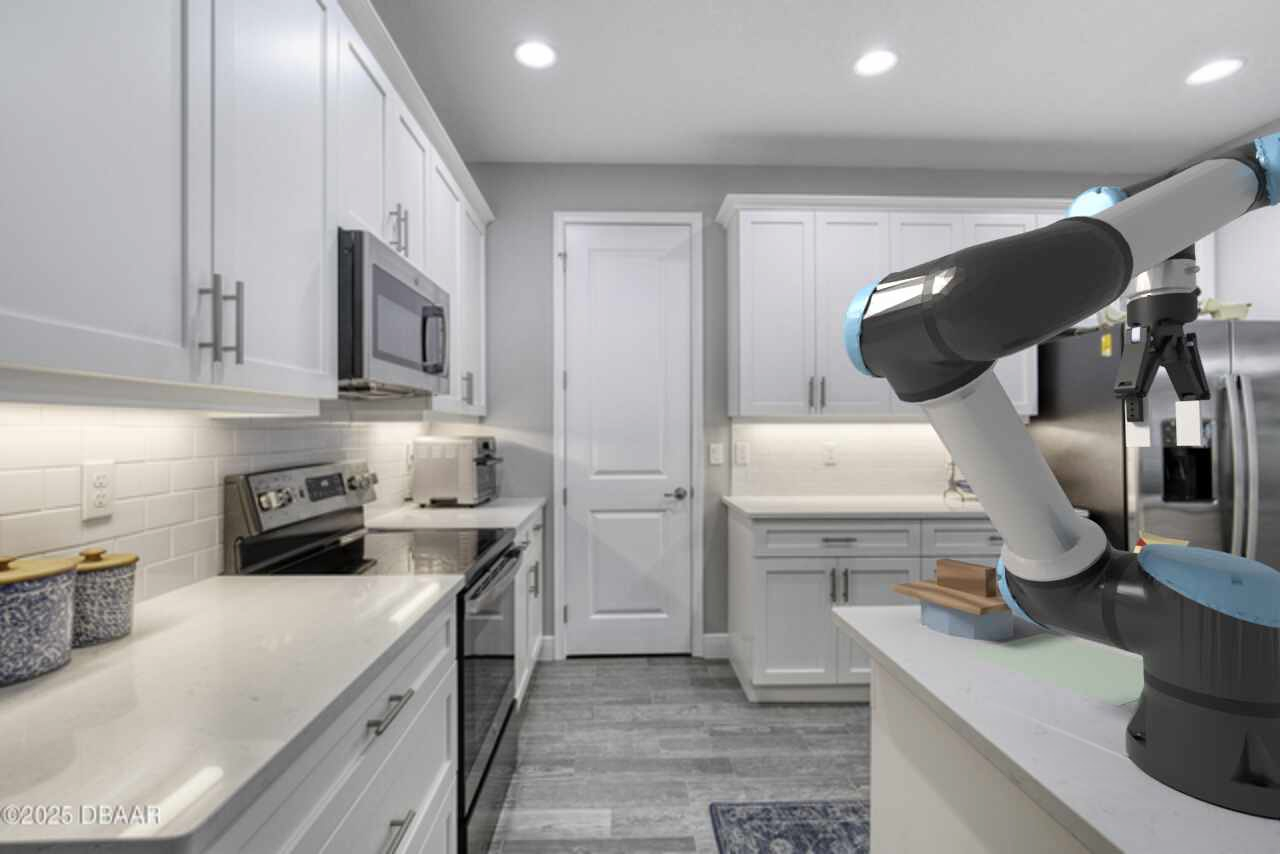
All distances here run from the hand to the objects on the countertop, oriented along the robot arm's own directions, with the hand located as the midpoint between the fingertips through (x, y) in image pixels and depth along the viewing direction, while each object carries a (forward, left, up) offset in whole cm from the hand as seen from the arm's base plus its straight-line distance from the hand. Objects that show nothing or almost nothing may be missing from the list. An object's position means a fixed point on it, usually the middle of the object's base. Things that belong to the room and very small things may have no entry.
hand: (1165, 446), depth 82 cm
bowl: (+1, +32, -35) cm, 47 cm away
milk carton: (+20, +10, -35) cm, 41 cm away
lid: (+1, +32, -29) cm, 43 cm away
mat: (-1, +12, -35) cm, 37 cm away
